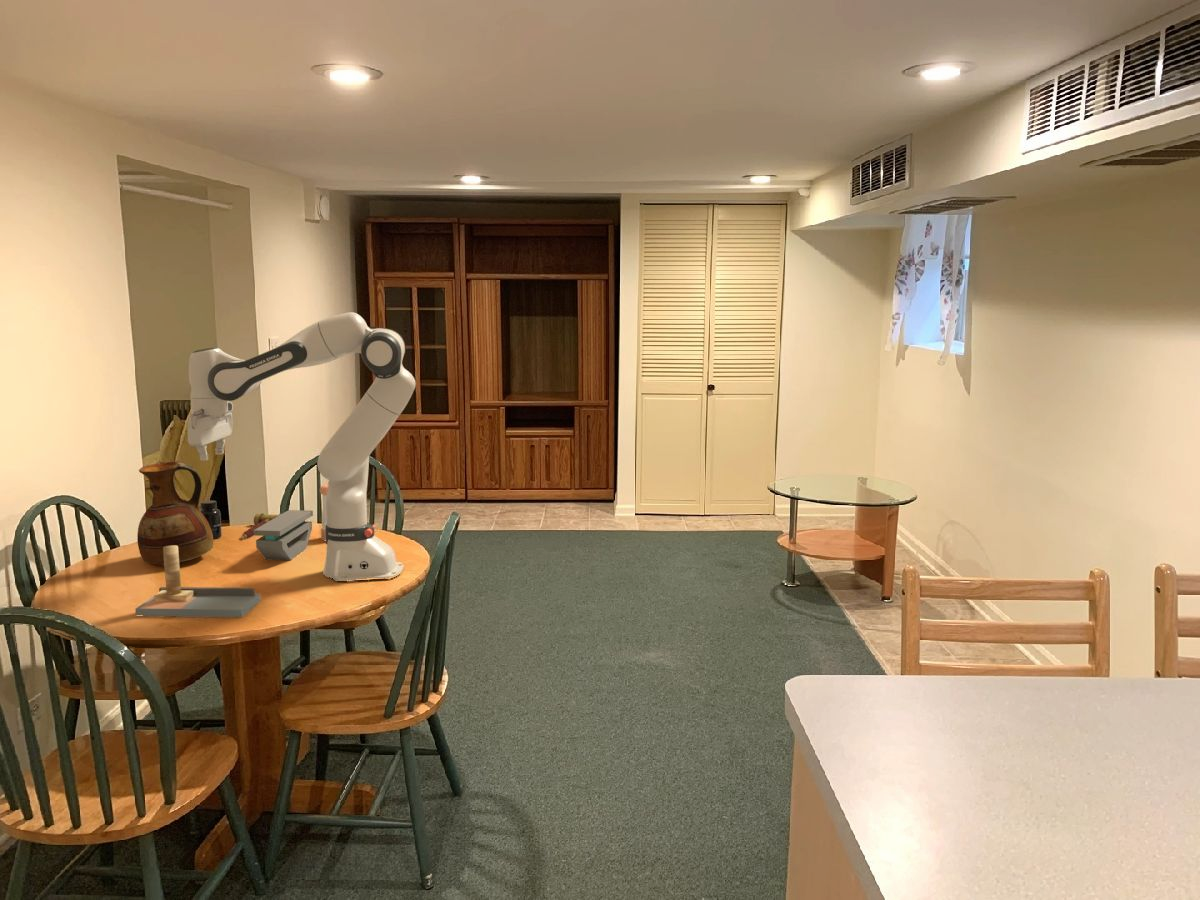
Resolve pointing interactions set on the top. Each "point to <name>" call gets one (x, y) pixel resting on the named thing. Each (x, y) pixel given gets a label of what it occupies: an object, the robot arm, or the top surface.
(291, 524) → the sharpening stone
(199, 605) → the board
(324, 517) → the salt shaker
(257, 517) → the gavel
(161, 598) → the beige post stand
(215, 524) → the supplement bottle
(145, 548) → the ceramic pitcher
